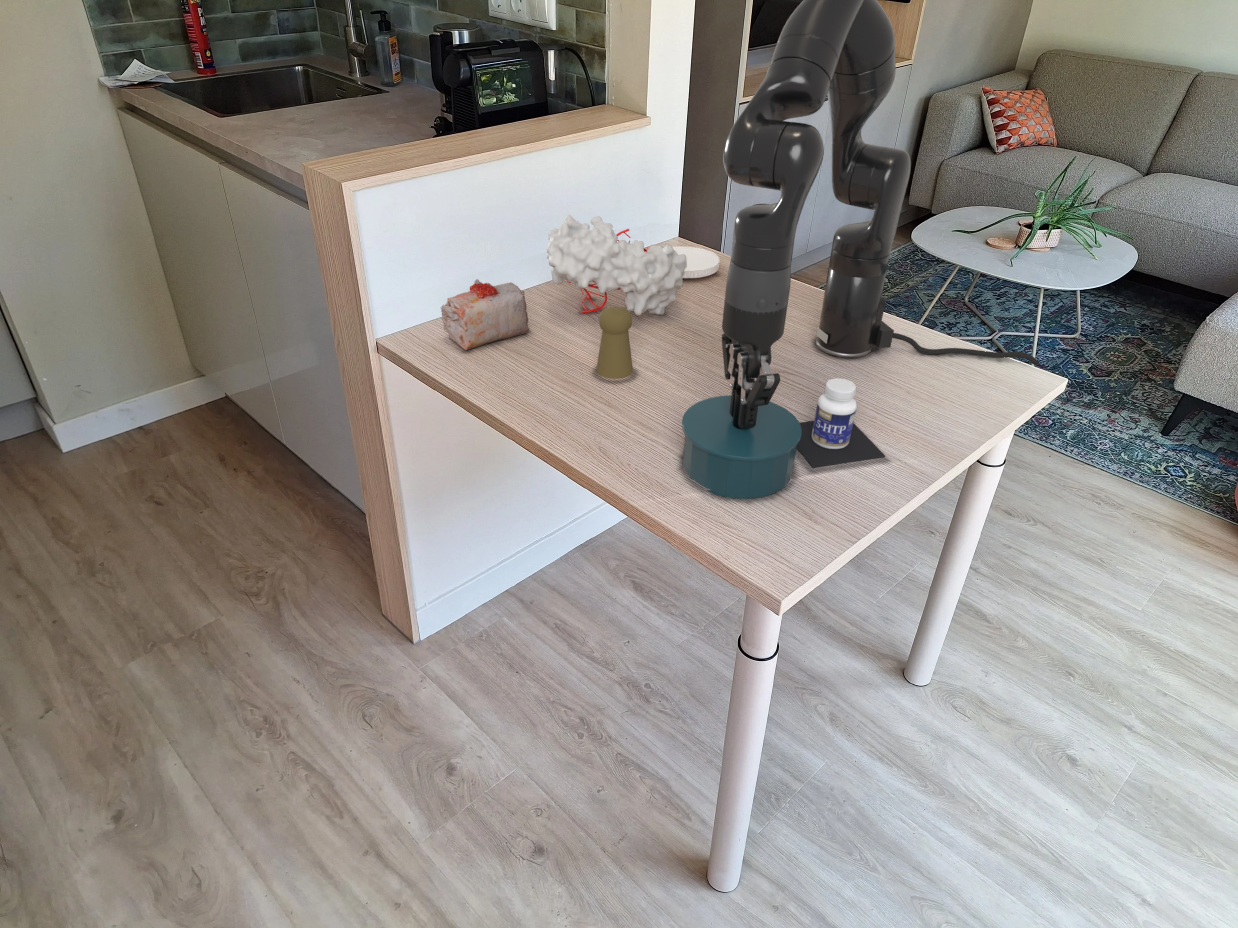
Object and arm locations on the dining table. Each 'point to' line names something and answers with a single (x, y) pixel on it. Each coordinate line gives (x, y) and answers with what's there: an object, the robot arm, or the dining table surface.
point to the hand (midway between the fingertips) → (742, 420)
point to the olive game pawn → (615, 343)
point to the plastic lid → (698, 261)
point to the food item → (485, 314)
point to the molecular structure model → (615, 265)
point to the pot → (737, 473)
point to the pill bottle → (835, 414)
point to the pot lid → (726, 439)
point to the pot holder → (822, 457)
